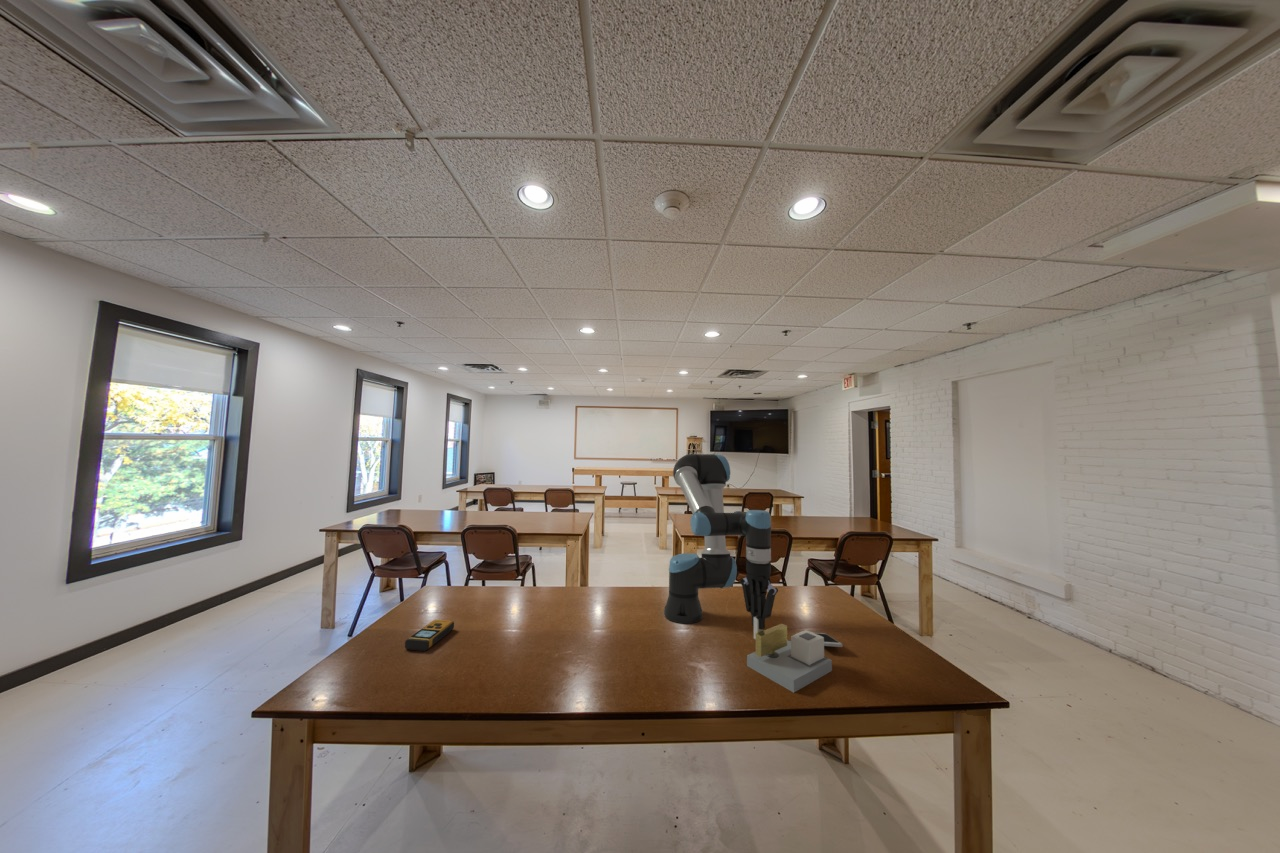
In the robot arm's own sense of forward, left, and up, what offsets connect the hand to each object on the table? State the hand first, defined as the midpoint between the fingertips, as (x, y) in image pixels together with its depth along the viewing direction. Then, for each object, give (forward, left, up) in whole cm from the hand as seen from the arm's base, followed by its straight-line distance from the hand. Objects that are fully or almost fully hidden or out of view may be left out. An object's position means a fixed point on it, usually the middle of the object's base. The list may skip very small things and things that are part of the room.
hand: (758, 638), depth 123 cm
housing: (+7, +6, -8) cm, 12 cm away
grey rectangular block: (+10, +11, -5) cm, 15 cm away
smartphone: (+9, +25, -7) cm, 28 cm away
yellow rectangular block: (+3, +3, -4) cm, 6 cm away
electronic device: (-77, -76, -10) cm, 109 cm away
